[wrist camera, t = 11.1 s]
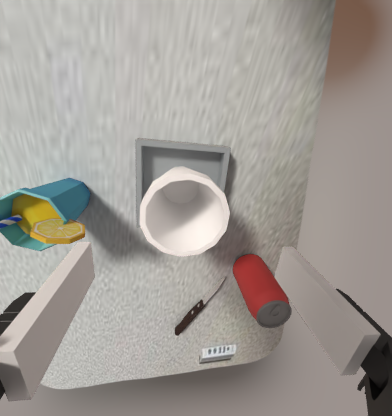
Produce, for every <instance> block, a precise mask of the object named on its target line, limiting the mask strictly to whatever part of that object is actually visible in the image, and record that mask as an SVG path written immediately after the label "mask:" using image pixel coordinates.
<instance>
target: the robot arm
mask: <svg viewBox="0 0 392 416" xmlns="http://www.w3.org/2000/svg"><path fill="white" fill-rule="evenodd" d="M94 277H95V274H94V265H93V257H92V248H91V242H77V244H76V245H75V246H74V247H73V248H72V250H71V251H70V252H69V253H68V254H67V256H66V257H65V258H64V259H63V261H62V262H61V263H60V264H59V265H58V267H57V268H56V269H55V270H54V272H53V273H52V274H51V275H50V276H49V278H48V279H47V280H46V281H45V282H44V284H43V285H42V286H41V287H40V289H39V290H38V291H37V292H35V293H24V294H23V295H22V296H20V297H19V298H17V299H16V300H14V301H13V302H12V303H11V304H10V305H9V306H8V307H7V308H6V310H5V311H4V312H3V314H1V315H0V399H1V397H2V396H3V394H4V393H5V394H6V396H7V399H8V401H18V400H31V399H32V397H33V395H34V394H35V392H36V390H37V388H38V385H39V384H40V382H41V380H42V378H43V376H44V374H45V372H46V370H47V368H48V366H49V364H50V363H51V361H52V359H53V357H54V355H55V353H56V351H57V349H58V347H59V345H60V343H61V341H62V339H63V337H64V335H65V334H66V332H67V330H68V328H69V326H70V324H71V322H72V320H73V318H74V316H75V314H76V312H77V310H78V308H79V306H80V305H81V303H82V301H83V299H84V297H85V295H86V293H87V291H88V289H89V287H90V285H91V283H92V281H93V279H94ZM274 277H275V279H276V280H277V282H278V283H279V285H280V286H281V288H282V289H283V291H284V292H285V294H286V295H287V297H288V298H289V300H290V301H291V303H292V304H293V306H294V307H295V308H296V310H297V311H298V313H299V314H300V316H301V317H302V319H303V320H304V322H305V323H306V325H307V326H308V328H309V329H310V331H311V332H312V334H313V335H314V336H315V338H316V340H317V341H318V342H319V344H320V345H321V347H322V348H323V350H324V351H325V353H326V354H327V356H328V357H329V359H330V360H331V361H332V363H333V365H334V366H335V368H336V369H337V371H338V372H339V373H340V375H352V374H353V375H354V374H356V372H357V371H358V369H359V367H360V366H361V367H362V368H363V369H364V371H365V372H366V374H365V376H364V377H363V379H362V380H361V382H360V383H359V385H358V390H359V391H361V389H362V388H363V386H365V394H366V399H367V408H368V416H392V337H391V336H389V335H388V334H387V333H386V332H385V331H384V330H383V329H382V328H381V327H380V326H379V325H378V324H377V323H376V322H375V321H374V320H373V319H372V318H371V317H370V316H369V315H368V314H367V313H366V312H363V310H362V309H361V308H360V307H359V306H358V305H356V303H355V302H354V301H353V300H352V299H351V298H350V297H349V296H348V295H346V294H345V293H343V292H342V291H340V290H339V289H335V288H334V287H333V286H332V285H331V284H330V283H329V282H328V281H327V280H326V279H325V278H324V277H323V276H322V275H321V274H320V273H319V272H318V271H317V270H316V269H315V268H314V267H313V266H312V265H311V264H310V263H309V262H308V261H307V260H306V259H305V258H304V257H303V256H302V255H301V254H299V252H298V251H297V250H296V249H295V248H294V247H287V246H283V248H282V252H281V255H280V258H279V262H278V265H277V268H276V272H275V275H274Z"/></svg>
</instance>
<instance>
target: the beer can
mask: <svg viewBox="0 0 392 416" xmlns="http://www.w3.org/2000/svg"><path fill="white" fill-rule="evenodd" d="M233 274H234V276H235V279H236V281H237V283H238V286H239V288H240V290H241V293H242V295H243V298H244V300H245V302H246V305H247V307H248V309H249V311H250V313H251V314H252V316H253V317H254V318H255V319H256V320H257V322H258V324H259V325H261V326H262V327H265V328H275V327H278V326H280V325H282V324H284V323H285V322H286V321H287V320H288V319H289V318H290V315H291V307H290V305H289V301H288V298H287V296H286V294H285V292H284V291H283V289H282V288H281V286H280V285H279V283H278V282H277V280H276V279H275V277H274V276H273V275H272V273H271V272H270V270H269V269H268V267H267V266H266V264H265V263H264V261H263V260H262V259H261V258H260V257H259V256H257V255H254V254H247V255H244V256H242V257H240V258H239V259H238V260H236V262H235V263H234V266H233Z"/></svg>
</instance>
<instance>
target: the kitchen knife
mask: <svg viewBox="0 0 392 416" xmlns="http://www.w3.org/2000/svg"><path fill="white" fill-rule="evenodd" d="M225 277H226V276H225ZM225 277H223V278H222V279H221V280H220V281H218V282H217V283H216V284H215V286H214V287H213V288H212V289H211V290H210V291H209V292H208V293H207V294H206V296H205V297H204V298H203V299H202V300H201V301H200V302H199V303H197V304H196V305H195V306H194V307H193V308H192V309H191V310H190V311H189V312H188V314H187V315H186V316H185V317H184V319H183V320H182V322H181V323H180V324H179V325H177V326H176V328H175V334H176V335H177V336H178V335H180V333H181V332H182V331H183V330H184V329H185V328H186V327H187V325H188V324H189V323H190V322H191V321H192V320H193V319H194V318H195V317H196V315H197V314H198V313H199V312H200V311H201V310H202V309H203V308H204V307H205V303H206V302H207V301H208V300H209V299H210V298H211V297H212V296H213V294H214V293H215V292H216V291H217V290H218V288H219V287H220V285H221V284H222V282H223V281H224V279H225Z"/></svg>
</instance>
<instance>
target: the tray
mask: <svg viewBox="0 0 392 416" xmlns="http://www.w3.org/2000/svg"><path fill="white" fill-rule="evenodd" d="M135 147H136V214H137V227H141V226H140V204H141V202H142V200H143V197H144V196H145V194H146V192H147V191H148V189H149V187H150V186H151V184H152V182H153V181H155V180H156V179H158V178H159V177H161V176H162V175H164V174H165V173H166V172H167V171H169V170H170V169H172V168H174V167H181V166H184V167H186V168H189V169H192V170H194V171H197V172H200V173H202V174H205V175H208V176H209V177H210V179H211V180H212V181H213V182H214V183H215V184H216V185H217V186H218V187H219V188H220V189H221V190H222V192H223V193H224V189H225V183H226V176H227V170H228V163H229V156H230V150H231V148H230V147H227V146H218V145H208V144H197V143H186V142H175V141H165V140H154V139H143V138H137V139H135Z"/></svg>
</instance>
